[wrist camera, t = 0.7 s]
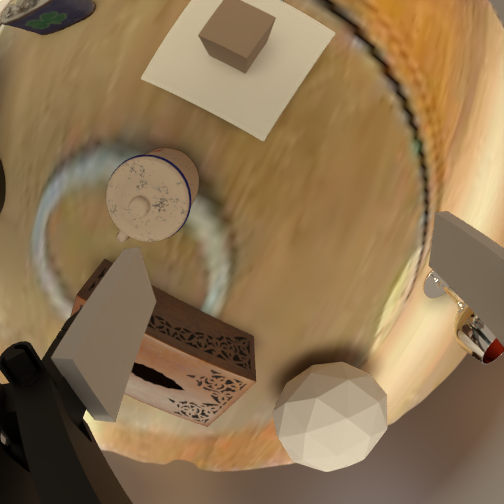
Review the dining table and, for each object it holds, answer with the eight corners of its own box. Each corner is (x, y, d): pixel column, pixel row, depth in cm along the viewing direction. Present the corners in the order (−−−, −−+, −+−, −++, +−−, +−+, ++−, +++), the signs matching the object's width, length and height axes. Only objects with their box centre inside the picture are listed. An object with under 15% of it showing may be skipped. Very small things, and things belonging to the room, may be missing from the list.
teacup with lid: (160, 131, 34) (127, 139, 23) (216, 176, 37) (206, 202, 26) (109, 203, 37) (67, 237, 27) (160, 244, 40) (135, 290, 30)
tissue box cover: (83, 321, 46) (60, 359, 37) (105, 258, 41) (76, 294, 32) (210, 383, 53) (207, 426, 44) (253, 335, 48) (256, 381, 39)
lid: (144, 80, 26) (108, 69, 18) (215, -25, 21) (206, -66, 13) (262, 140, 29) (271, 150, 21) (332, 35, 24) (365, 10, 16)
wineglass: (412, 281, 44) (470, 355, 28) (448, 250, 42) (516, 312, 26) (428, 309, 47) (478, 378, 31) (460, 280, 45) (519, 341, 29)
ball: (290, 362, 60) (229, 425, 45) (365, 322, 47) (312, 404, 32) (341, 423, 57) (295, 492, 42) (419, 397, 44) (387, 487, 29)
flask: (96, -1, 25) (54, -27, 14) (95, 18, 26) (50, -5, 16) (39, 22, 25) (-10, 9, 14) (37, 40, 26) (-13, 30, 16)
